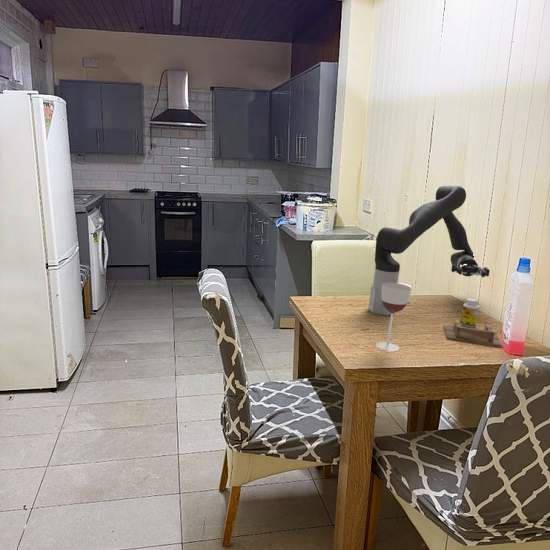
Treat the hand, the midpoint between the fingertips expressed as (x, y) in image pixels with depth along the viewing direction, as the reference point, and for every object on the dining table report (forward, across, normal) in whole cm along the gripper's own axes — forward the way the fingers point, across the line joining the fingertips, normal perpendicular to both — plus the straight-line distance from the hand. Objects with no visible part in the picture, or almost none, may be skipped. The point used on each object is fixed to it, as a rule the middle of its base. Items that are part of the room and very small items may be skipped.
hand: (472, 273), depth 199 cm
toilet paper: (-14, -26, +18) cm, 35 cm away
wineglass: (+50, -29, +18) cm, 60 cm away
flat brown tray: (+25, 0, +18) cm, 31 cm away
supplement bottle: (+11, 0, +18) cm, 21 cm away
